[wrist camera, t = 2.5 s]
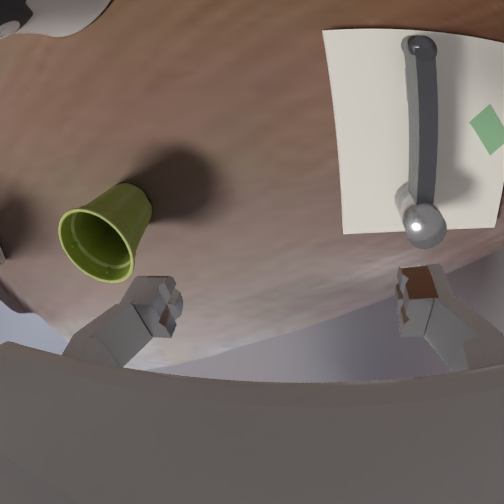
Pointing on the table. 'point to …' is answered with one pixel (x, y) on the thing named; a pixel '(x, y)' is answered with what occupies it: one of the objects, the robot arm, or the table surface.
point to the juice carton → (1, 257)
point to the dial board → (397, 126)
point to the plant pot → (106, 232)
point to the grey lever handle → (421, 145)
